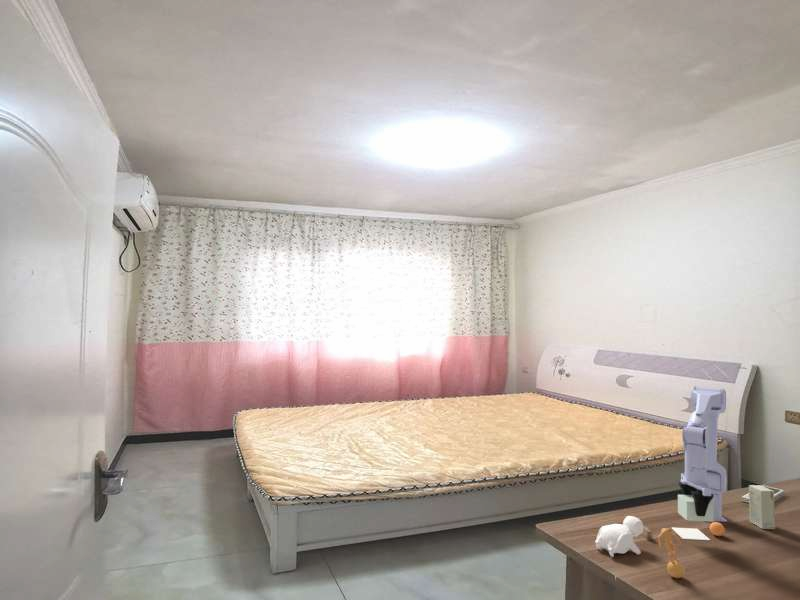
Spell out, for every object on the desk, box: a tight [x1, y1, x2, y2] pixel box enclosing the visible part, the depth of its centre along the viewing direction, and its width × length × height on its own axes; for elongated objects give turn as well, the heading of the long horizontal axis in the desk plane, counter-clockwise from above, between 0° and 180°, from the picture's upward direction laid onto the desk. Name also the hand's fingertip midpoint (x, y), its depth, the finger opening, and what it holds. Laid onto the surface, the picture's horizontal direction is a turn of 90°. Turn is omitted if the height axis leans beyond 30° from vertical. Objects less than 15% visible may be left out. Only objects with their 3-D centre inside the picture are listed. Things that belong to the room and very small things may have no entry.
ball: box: [709, 521, 726, 537], centre depth 157 cm, size 4×4×4 cm
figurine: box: [657, 527, 685, 579], centre depth 132 cm, size 8×6×12 cm
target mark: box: [670, 527, 711, 541], centre depth 157 cm, size 8×8×1 cm
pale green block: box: [677, 494, 715, 523], centre depth 153 cm, size 6×8×6 cm
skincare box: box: [748, 484, 776, 530], centre depth 165 cm, size 6×4×12 cm
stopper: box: [632, 515, 653, 541], centre depth 159 cm, size 12×1×2 cm, turn 175°
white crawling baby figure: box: [594, 515, 644, 558], centre depth 146 cm, size 9×8×15 cm
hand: (695, 511), depth 153 cm, fingers closed on pale green block, 6 cm apart
